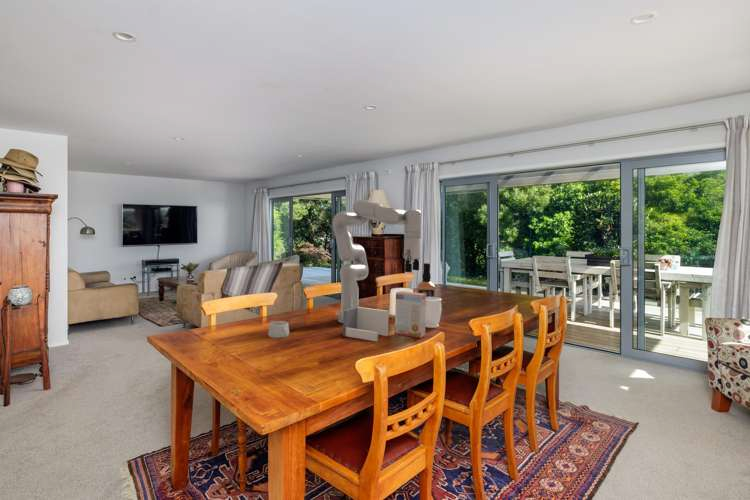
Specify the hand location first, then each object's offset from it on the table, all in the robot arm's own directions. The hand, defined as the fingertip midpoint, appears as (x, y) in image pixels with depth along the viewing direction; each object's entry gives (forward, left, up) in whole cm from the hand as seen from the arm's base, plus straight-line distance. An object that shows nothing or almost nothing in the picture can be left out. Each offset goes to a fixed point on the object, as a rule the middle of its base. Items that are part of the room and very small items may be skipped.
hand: (412, 271), depth 194 cm
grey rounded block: (-52, -34, -32) cm, 70 cm away
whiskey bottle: (-5, +35, -32) cm, 47 cm away
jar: (+3, +22, -32) cm, 39 cm away
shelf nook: (-18, -12, -31) cm, 38 cm away
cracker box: (0, 0, -32) cm, 32 cm away
